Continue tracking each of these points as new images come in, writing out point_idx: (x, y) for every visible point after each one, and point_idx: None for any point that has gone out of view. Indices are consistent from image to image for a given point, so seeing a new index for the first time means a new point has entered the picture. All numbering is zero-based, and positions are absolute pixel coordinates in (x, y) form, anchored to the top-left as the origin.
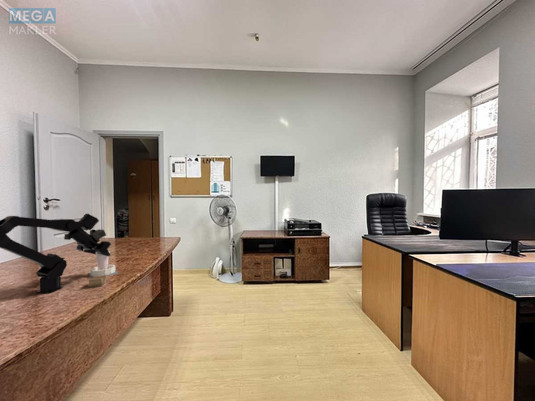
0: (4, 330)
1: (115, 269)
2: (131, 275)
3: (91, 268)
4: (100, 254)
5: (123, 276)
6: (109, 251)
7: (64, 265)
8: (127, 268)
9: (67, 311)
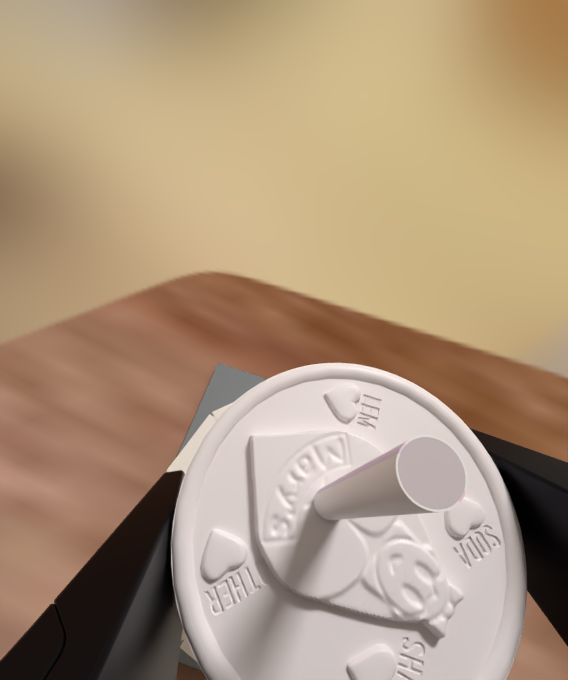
0: None
1: (266, 379)
2: (562, 398)
3: (184, 650)
4: (482, 659)
5: (543, 452)
6: (426, 392)
7: None
8: (310, 302)
9: None
